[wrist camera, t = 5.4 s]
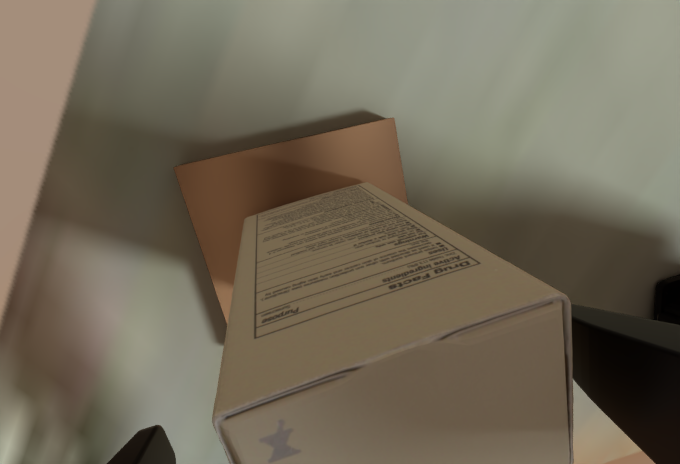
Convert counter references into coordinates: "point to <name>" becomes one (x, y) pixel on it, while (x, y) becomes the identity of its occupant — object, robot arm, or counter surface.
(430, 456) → the skincare box
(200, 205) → the brown flat square block
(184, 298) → the counter surface
